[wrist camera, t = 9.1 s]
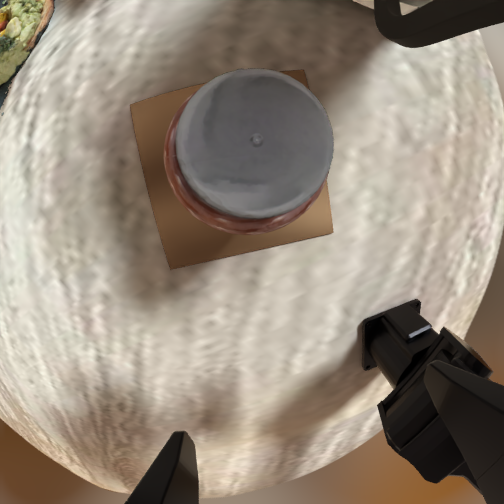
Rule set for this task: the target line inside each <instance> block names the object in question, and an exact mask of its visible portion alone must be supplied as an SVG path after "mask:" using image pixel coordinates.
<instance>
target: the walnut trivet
mask: <svg viewBox="0 0 504 504" xmlns="http://www.w3.org/2000/svg"><path fill="white" fill-rule="evenodd" d="M280 73H283V74H285V75H288V76H290V77H292V78H294V79H295V80H297V81H299V82H300V83H302V84H303V85H304V86H305V87H306V88H307V89H308V90H309V88H308V84H307V80H306V76H305V72H304V70H293V71H280ZM205 84H206V83H204V84H199V85H195V86H191V87H187V88H183V89H179V90H175V91H172V92H168V93H165V94H161V95H158V96H155V97H152V98H148V99H145V100H142V101H139V102H136V103H134V104H131V105H130V108H131V114H132V119H133V125H134V130H135V135H136V140H137V145H138V150H139V155H140V159H141V164H142V168H143V173H144V177H145V181H146V185H147V189H148V193H149V197H150V201H151V205H152V209H153V212H154V216H155V220H156V223H157V227H158V230H159V234H160V237H161V241H162V244H163V247H164V251H165V254H166V257H167V260H168V263H169V267H170V270H172V269H176V268H181V267H185V266H189V265H194V264H198V263H202V262H207V261H211V260H216V259H220V258H224V257H229V256H233V255H237V254H242V253H246V252H251V251H255V250H259V249H264V248H268V247H273V246H277V245H281V244H286V243H290V242H295V241H299V240H303V239H308V238H312V237H316V236H321V235H325V234H330V233H333V224H332V216H331V208H330V201H329V193H328V186H327V180H326V182H325V184H324V187H323V189H322V191H321V193H320V195H319V196H318V198H317V199H316V200H315V202H314V203H313V205H312V206H311V207H310V208H309V209H308V210H307V211H306V212H305V213H304V214H303V215H301V216H300V217H299V218H298V219H296V220H295V221H293V222H292V223H290V224H288V225H286V226H284V227H282V228H280V229H277V230H274V231H272V232H268V233H263V234H257V235H237V234H231V233H227V232H223V231H220V230H217V229H214V228H212V227H210V226H208V225H206V224H205V223H203V222H201V221H200V220H198V219H197V218H195V217H194V216H193V215H192V214H191V213H190V212H189V211H187V210H186V208H185V207H184V206H183V205H182V204H181V203H180V202H179V200H178V199H177V197H176V196H175V194H174V192H173V190H172V188H171V186H170V184H169V182H168V179H167V175H166V171H165V165H164V144H165V138H166V134H167V131H168V128H169V125H170V123H171V121H172V118H173V116H174V115H175V113H176V112H177V111H178V109H179V108H180V106H181V105H182V104H183V102H184V101H185V100H186V99H187V98H188V97H189V96H191V95H192V94H193V93H194V92H196V91H197V90H199V89H200V88H201V87H202V86H204V85H205Z"/></svg>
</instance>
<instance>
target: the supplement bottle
mask: <svg viewBox="0 0 504 504" xmlns="http://www.w3.org/2000/svg"><path fill="white" fill-rule="evenodd" d="M333 143H334V142H333V132H332V127H331V124H330V121H329V119H328V116H327V113H326V111H325V109H324V107H323V106H322V104H321V103H320V101H319V100H318V99H317V98H316V97H315V96H314V94H313V93H312V92H311V91H310V90H308V89H307V88H306V87H305V86H304V85H303V84H302V83H300V82H299V81H297V80H295V79H294V78H292V77H290V76H288V75H285V74H283V73H280V72H278V71H274V70H268V69H238V70H235V71H232V72H228V73H225V74H222V75H220V76H218V77H215V78H214V79H213V80H211V81H209V82H208V83H206V84H205V85H204V86H202V87H201V88H200V89H199V90H197V91H196V92H194V93H193V94H192V95H191V96H189V97H188V98H187V99H186V100H185V101H184V102H183V104H182V105H181V106H180V108H179V109H178V111H177V112H176V113H175V115H174V116H173V118H172V121H171V123H170V125H169V128H168V131H167V134H166V138H165V144H164V165H165V171H166V175H167V179H168V182H169V184H170V186H171V188H172V190H173V192H174V194H175V196H176V197H177V199H178V200H179V202H180V203H181V204H182V205H183V206H184V207H185V208H186V210H187V211H189V212H190V213H191V214H192V215H193V216H194V217H195V218H197V219H198V220H200V221H201V222H203V223H205V224H206V225H208V226H210V227H212V228H214V229H217V230H220V231H223V232H227V233H231V234H237V235H257V234H263V233H268V232H272V231H274V230H277V229H280V228H282V227H284V226H286V225H288V224H290V223H292V222H293V221H295V220H296V219H298V218H299V217H300V216H301V215H303V214H304V213H305V212H306V211H307V210H308V209H309V208H310V207H311V206H312V205H313V203H314V202H315V200H316V199H317V198H318V196H319V195H320V193H321V191H322V189H323V187H324V184H325V182H326V179H327V177H328V173H329V169H330V165H331V161H332V158H333Z"/></svg>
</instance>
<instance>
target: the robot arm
mask: <svg viewBox="0 0 504 504" xmlns="http://www.w3.org/2000/svg"><path fill="white" fill-rule="evenodd" d="M420 308H421V302H420V301H419V300H418V299H415V300H412V301H410V302H408V303H405V304H403V305H400V306H398V307H395V308H393V309H390V310H388V311H385V312H383V313H380V314H378V315H375V316H372V317H370V318H367V319H365V320H364V322H363V354H362V367H363V369H364V370H365V371H367V370H370V369H372V368H374V367H377V366H378V367H379V369H380V370H381V372H382V373H383V375H384V376H385V377H386V379H387V380H388V382H389V383H390V385H391V386H392V388H393V389H394V390H393V391H392V392H391V393H390V394H389V395H388V396H387V397H386V398H385V399H384V400H383V401H381V402H380V403H379V404H378V405H377V406H378V410H379V414H380V417H381V421H382V425H383V429H384V432H385V436H386V439H387V443H388V445H389V446H391V447H392V449H394V451H395V452H397V453H398V454H399V455H400V456H402V457H403V458H405V459H407V460H408V461H409V462H410V463H411V464H412V465H413V466H414V467H415V468H416V469H417V470H418V471H419V473H420V474H421V475H422V477H423V478H424V479H425V480H427V481H429V482H432V483H438V482H440V481H441V480H443V479H444V478H445V477H447V476H462V477H464V478H466V479H467V480H468V481H469V482H470V483H471V484H472V485H473V486H474V487H475V488H476V489H477V490H478V491H479V492H480V493H481V494H482V495H483V497H484V499H485V501H486V503H487V504H504V386H503V385H500V384H498V383H495V382H493V381H491V380H490V379H489V377H490V376H491V375H492V373H493V370H492V369H491V368H490V367H489V366H488V364H487V363H486V362H485V361H484V360H483V359H482V357H481V356H480V355H479V354H478V353H477V352H476V351H475V350H474V349H473V348H472V347H470V346H469V345H468V344H467V343H466V342H465V341H464V340H462V339H461V338H460V337H458V336H457V335H455V334H454V333H452V332H451V331H450V330H448V329H447V328H445V327H443V328H442V329H441V331H440V334H438V333H437V332H436V331H434V330H433V329H432V328H431V327H432V325H431V324H430V323H429V322H428V321H426V320H425V319H424V318H423V317H422V316H421V315H420ZM368 323H369V324H368ZM367 324H368V325H367ZM198 499H199V480H198V470H197V461H196V451H195V444H194V442H193V440H192V439H191V438H190V436H189V435H188V433H187V432H186V431H175V432H173V434H172V435H171V437H170V438H169V440H168V441H167V443H166V444H165V446H164V447H163V449H162V450H161V452H160V453H159V455H158V456H157V458H156V459H155V460H154V462H153V463H152V465H151V466H150V468H149V469H148V471H147V472H146V474H145V475H144V476H143V478H142V479H141V481H140V482H139V484H138V485H137V486H136V488H135V489H134V491H133V492H132V494H131V495H130V497H129V498H128V501H126V502H125V503H124V504H199V500H198Z"/></svg>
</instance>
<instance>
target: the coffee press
mask: <svg viewBox="0 0 504 504" xmlns="http://www.w3.org/2000/svg"><path fill="white" fill-rule="evenodd" d="M353 1H355V2H357V3H359V4H361V5H364V6H366V7H369V8H371V9H374V15H375V21H376V25H377V28H378V30H379V32H380V33H381V34H382V35H383V36H385V37H386V38H388V39H390V40H392V41H394V42H396V43H397V44H399V45H402V46H404V47H409V48H418V47H424V46H428V45H431V44H434V43H438V42H441V41H444V40H447V39H450V38H453V37H456V36H459V35H462V34H465V33H468V32H471V31H474V30H478V29H480V28H484V27H488V26H491V25H495V24H499V23H503V22H504V0H353ZM403 14H406V15H403Z"/></svg>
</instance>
